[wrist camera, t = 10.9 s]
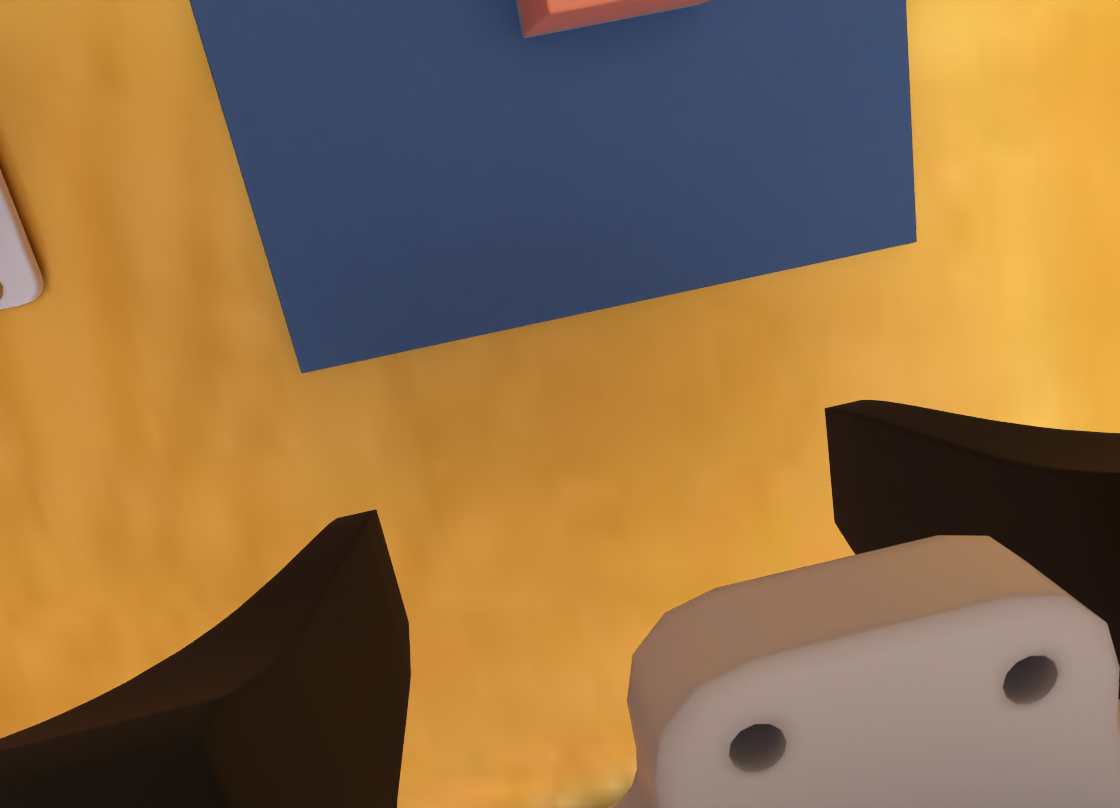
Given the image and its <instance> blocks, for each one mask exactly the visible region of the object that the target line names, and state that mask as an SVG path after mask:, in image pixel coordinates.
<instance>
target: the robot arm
mask: <svg viewBox="0 0 1120 808" xmlns="http://www.w3.org/2000/svg"><path fill="white" fill-rule="evenodd" d="M0 283H1V284H2V285H3V290H4V293H3V295H2V297H1V296H0V310H1V309H5V308H10V307H15V306H20V305H24V304H26V303H29V302H31V301H33V300H35V299H37V298H38V297H39V296H40V295H41V293H42V291H43V287H44V282H43V277H42V274H41V272H40V269H39V266H38V264H37V261H36V259H35V256H34V254H33V251H32V249H31V246H30V243H29V241H28V238H27V236H26V233H25V231H24V228H23V226H22V223H21V221H20V218H19V215H18V213H17V210H16V208H15V205H14V203H13V200H12V198H11V195H10V192H9V190H8V187H7V185H6V182H5V180H4V177H3V175H2V172H1V169H0ZM825 416H826V427H827V439H828V450H829V462H830V474H831V485H832V497H833V508H834V520H835V524H836V525H837V527H838V528H839V530H840V531H841V533H842V535H843V536H844V538H845V539H846V541H847V542H848V544H849V546H850V547H851V549H852V550H853V552H854V553H855V554H856V555H853V556H849V557H844V558H840V559H836V560H832V561H828V562H823V563H819V564H815V565H811V566H806V567H802V568H798V569H794V570H790V571H785V572H781V573H777V574H773V575H769V576H764V577H760V578H756V579H752V580H747V581H743V582H739V583H735V584H731V585H726V586H722V587H718V588H714V589H712V590H710V591H708V592H706V593H704V594H702V595H700V596H698V597H696V598H694V599H692V600H690V601H688V602H686V603H684V604H682V605H680V606H678V607H676V608H674V609H672V610H670V611H668V612H666V613H664V615H663V616H662V617H661V618H660V620H659V621H658V622H657V624H656V625H655V626H654V628H653V629H652V630H651V631H650V633H649V634H648V635H647V637H646V638H645V639H644V641H643V642H642V643H641V645H640V646H639V647H638V648H637V650H636V651H635V652H634V654H633V656H632V665H631V673H630V682H629V690H628V698H627V703H628V708H629V713H630V718H631V724H632V729H633V734H634V739H635V744H636V756H637V771H636V775H635V779H634V782H633V785H632V787H631V788H630V789H629V791H628V792H627V793H626V794H625V795H624V797H623V798H622V799H621V800H620V801H618V802H616V803H614V804H613V805H611V806H609V807H607V808H1120V433H1103V432H1089V431H1075V430H1062V429H1052V428H1043V427H1035V426H1028V425H1021V424H1014V423H1007V422H1000V421H994V420H988V419H982V418H976V417H971V416H965V415H960V414H954V413H949V412H944V411H939V410H933V409H928V408H923V407H917V406H912V405H906V404H900V403H894V402H887V401H878V400H860V401H855V402H851V403H846V404H842V405H838V406H833V407H829V408H825ZM410 678H411V668H410V641H409V622H408V618H407V615H406V611H405V608H404V604H403V601H402V598H401V594H400V591H399V587H398V584H397V580H396V577H395V573H394V570H393V566H392V563H391V559H390V556H389V552H388V549H387V545H386V542H385V538H384V535H383V531H382V528H381V524H380V521H379V517H378V514H377V510H372V511H367V512H363V513H358V514H354V515H349V516H345V517H340V518H337V519H335V520H334V521H332V522H331V523H330V524H329V525H327V526H326V527H325V528H324V529H323V530H322V531H321V532H320V533H319V534H318V535H317V536H316V537H315V538H314V539H313V540H312V541H311V542H310V543H309V544H308V545H307V546H306V547H305V548H304V549H303V550H302V551H300V552H299V553H298V554H297V555H296V556H295V557H294V558H293V559H292V560H291V561H290V562H289V563H288V564H287V565H286V566H285V567H284V568H283V569H282V570H281V571H280V572H279V573H278V574H277V575H276V576H275V577H273V578H272V579H271V580H270V581H269V582H268V583H267V584H265V585H264V586H263V587H262V588H261V589H260V590H259V591H258V592H256V593H255V594H254V595H253V596H252V597H251V598H250V599H248V600H247V601H246V602H245V603H244V604H243V605H242V606H240V607H239V608H238V609H237V610H236V611H234V612H233V613H232V614H231V615H229V616H228V617H227V618H225V619H224V620H223V621H222V622H220V623H219V624H218V625H216V626H215V627H214V628H212V629H211V630H209V631H208V632H206V633H205V634H204V635H202V636H201V637H199V638H198V639H196V640H195V641H194V642H192V643H191V644H189V645H188V646H186V647H185V648H183V649H182V650H180V651H179V652H177V653H175V654H173V655H172V656H170V657H168V658H167V659H165V660H163V661H162V662H160V663H158V664H157V665H155V666H153V667H151V668H150V669H148V670H146V671H145V672H143V673H141V674H140V675H138V676H136V677H135V678H133V679H131V680H129V681H128V682H126V683H124V684H122V685H120V686H118V687H116V688H114V689H112V690H110V691H108V692H106V693H104V694H102V695H100V696H99V697H97V698H95V699H93V700H90V701H88V702H86V703H84V704H82V705H80V706H78V707H75V708H73V709H71V710H69V711H67V712H65V713H63V714H60V715H58V716H56V717H53V718H51V719H49V720H47V721H44V722H42V723H40V724H37V725H35V726H32V727H29V728H27V729H24V730H22V731H19V732H17V733H14V734H11V735H9V736H6V737H4V738H1V739H0V808H397V797H398V788H399V779H400V770H401V761H402V752H403V744H404V735H405V726H406V717H407V708H408V698H409V688H410Z"/></svg>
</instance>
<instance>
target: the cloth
mask: <svg viewBox="0 0 1120 808" xmlns="http://www.w3.org/2000/svg"><path fill="white" fill-rule="evenodd" d="M190 4H191V7H192V10H193V14H194V17H195V20H196V24H197V27H198V30H199V34H200V37H201V40H202V43H203V47H204V50H205V53H206V57H207V60H208V63H209V67H210V70H211V73H212V77H213V80H214V83H215V87H216V90H217V93H218V97H219V100H220V103H221V107H222V110H223V113H224V117H225V120H226V123H227V127H228V130H229V133H230V137H231V140H232V143H233V147H234V150H235V153H236V157H237V160H238V163H239V167H240V170H241V173H242V177H243V180H244V183H245V186H246V190H247V193H248V196H249V200H250V203H251V206H252V210H253V213H254V216H255V220H256V223H257V226H258V230H259V233H260V236H261V240H262V243H263V246H264V250H265V253H266V256H267V260H268V263H269V266H270V270H271V273H272V276H273V280H274V283H275V286H276V290H277V293H278V296H279V300H280V303H281V306H282V310H283V313H284V316H285V320H286V323H287V326H288V329H289V333H290V336H291V339H292V343H293V346H294V349H295V353H296V356H297V359H298V363H299V366H300V369H301V372H302V373H306V372H310V371H315V370H320V369H324V368H329V367H334V366H338V365H343V364H348V363H352V362H357V361H362V360H366V359H371V358H376V357H380V356H385V355H390V354H394V353H399V352H404V351H408V350H413V349H418V348H422V347H427V346H432V345H436V344H441V343H446V342H450V341H455V340H460V339H465V338H469V337H474V336H479V335H483V334H488V333H493V332H497V331H502V330H507V329H511V328H516V327H521V326H525V325H530V324H535V323H539V322H544V321H549V320H553V319H558V318H563V317H567V316H572V315H577V314H581V313H586V312H591V311H595V310H600V309H605V308H609V307H614V306H619V305H623V304H628V303H633V302H637V301H642V300H647V299H651V298H656V297H661V296H666V295H670V294H675V293H680V292H684V291H689V290H694V289H698V288H703V287H708V286H712V285H717V284H722V283H726V282H731V281H736V280H740V279H745V278H750V277H754V276H759V275H764V274H768V273H773V272H778V271H782V270H787V269H792V268H796V267H801V266H806V265H810V264H815V263H820V262H824V261H829V260H834V259H838V258H843V257H848V256H852V255H857V254H862V253H867V252H871V251H876V250H881V249H885V248H890V247H895V246H899V245H904V244H909V243H913V242H916V241H917V239H916V217H915V194H914V172H913V150H912V128H911V105H910V83H909V61H908V38H907V16H906V0H709V1H707V2H705V3H702V4H700V5H696V6H691V7H685V8H680V9H675V10H670V11H665V12H659V13H654V14H649V15H644V16H639V17H633V18H628V19H623V20H618V21H613V22H607V23H602V24H597V25H592V26H587V27H581V28H576V29H571V30H566V31H561V32H555V33H550V34H545V35H540V36H535V37H529V38H524V37H523V36H522V32H521V26H520V21H519V16H518V10H517V5H516V0H190Z"/></svg>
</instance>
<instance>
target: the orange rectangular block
mask: <svg viewBox="0 0 1120 808" xmlns="http://www.w3.org/2000/svg"><path fill="white" fill-rule="evenodd" d="M707 1H709V0H516V5H517V10H518V16H519V21H520V26H521V32H522V36H523V37H524V38H529V37H535V36H540V35H545V34H550V33H555V32H561V31H566V30H571V29H576V28H581V27H587V26H592V25H597V24H602V23H607V22H613V21H618V20H623V19H628V18H633V17H639V16H644V15H649V14H654V13H659V12H665V11H670V10H675V9H680V8H685V7H691V6H696V5H700V4H702V3H705V2H707Z"/></svg>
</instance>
